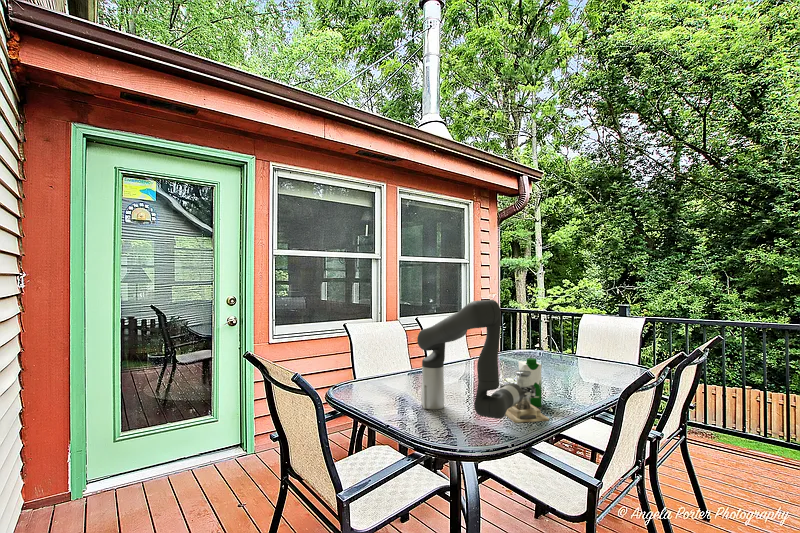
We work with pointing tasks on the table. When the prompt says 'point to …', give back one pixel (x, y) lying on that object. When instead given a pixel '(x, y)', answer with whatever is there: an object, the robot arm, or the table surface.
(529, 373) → the metal canister
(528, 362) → the milk carton
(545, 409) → the table surface
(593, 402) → the table surface
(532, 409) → the socket mount
